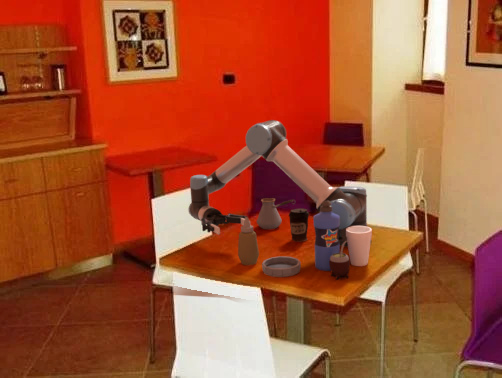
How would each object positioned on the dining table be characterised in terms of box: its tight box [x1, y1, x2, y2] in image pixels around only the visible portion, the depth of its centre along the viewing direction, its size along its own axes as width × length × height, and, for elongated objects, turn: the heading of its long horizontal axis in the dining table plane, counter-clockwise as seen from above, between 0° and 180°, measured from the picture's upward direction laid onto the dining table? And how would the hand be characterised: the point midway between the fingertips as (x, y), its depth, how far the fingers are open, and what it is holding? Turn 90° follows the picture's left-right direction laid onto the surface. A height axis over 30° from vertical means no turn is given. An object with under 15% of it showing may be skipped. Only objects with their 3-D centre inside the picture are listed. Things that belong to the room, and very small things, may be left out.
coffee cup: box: [288, 208, 310, 243], centre depth 253 cm, size 9×8×13 cm
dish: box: [261, 255, 302, 278], centre depth 220 cm, size 14×14×3 cm
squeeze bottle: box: [237, 216, 260, 266], centre depth 228 cm, size 8×8×18 cm
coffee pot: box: [256, 197, 296, 230], centre depth 270 cm, size 21×12×15 cm, turn 45°
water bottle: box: [312, 200, 341, 272], centre depth 219 cm, size 9×9×25 cm
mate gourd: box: [329, 240, 351, 281], centre depth 209 cm, size 8×8×15 cm
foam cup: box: [346, 226, 373, 267], centre depth 222 cm, size 10×9×13 cm
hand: (234, 228), depth 236 cm, fingers open, 13 cm apart
